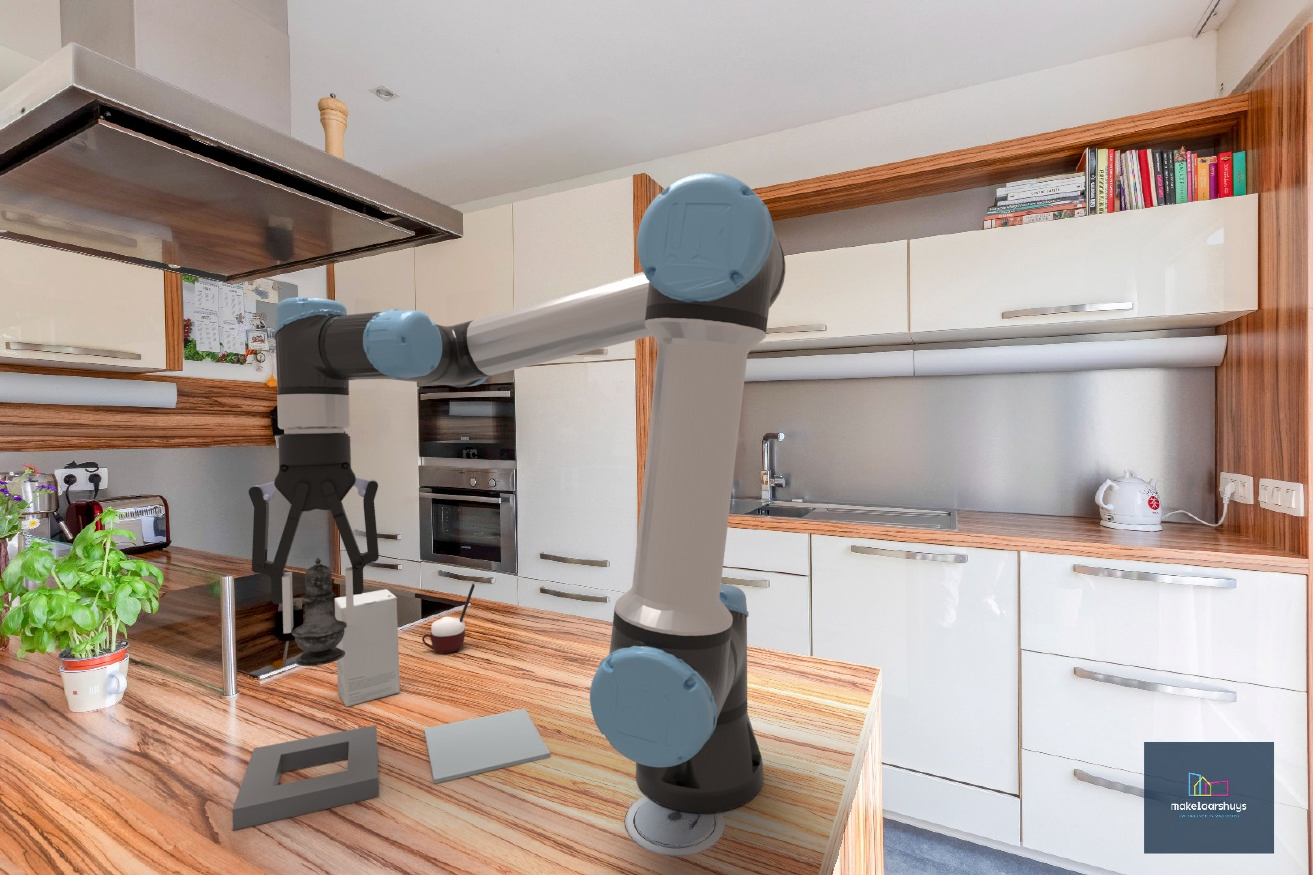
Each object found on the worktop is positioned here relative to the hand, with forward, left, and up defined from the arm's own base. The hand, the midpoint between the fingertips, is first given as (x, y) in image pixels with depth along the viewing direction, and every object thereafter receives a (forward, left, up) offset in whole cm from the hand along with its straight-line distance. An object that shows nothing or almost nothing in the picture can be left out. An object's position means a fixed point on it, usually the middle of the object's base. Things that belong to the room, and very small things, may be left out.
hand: (320, 625), depth 75 cm
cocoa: (+39, -19, -19) cm, 47 cm away
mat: (0, -19, -19) cm, 27 cm away
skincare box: (+24, -5, -19) cm, 31 cm away
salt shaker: (0, 0, -4) cm, 4 cm away
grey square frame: (0, +1, -19) cm, 19 cm away
